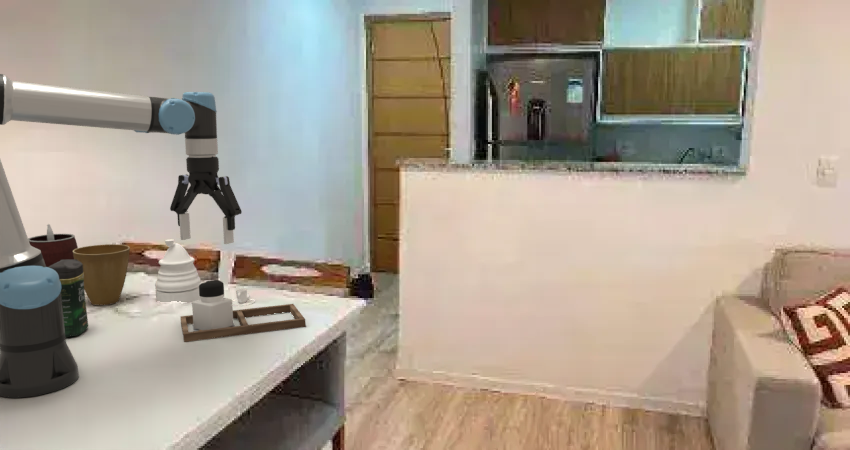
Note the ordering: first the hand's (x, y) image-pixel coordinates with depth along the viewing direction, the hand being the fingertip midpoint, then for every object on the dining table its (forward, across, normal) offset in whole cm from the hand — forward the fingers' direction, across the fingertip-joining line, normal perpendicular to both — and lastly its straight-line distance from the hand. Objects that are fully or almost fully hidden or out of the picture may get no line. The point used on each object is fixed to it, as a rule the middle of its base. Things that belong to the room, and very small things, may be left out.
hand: (206, 241), depth 168 cm
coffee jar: (+23, +31, +16) cm, 42 cm away
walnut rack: (+23, -6, -5) cm, 24 cm away
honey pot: (+23, +28, -19) cm, 41 cm away
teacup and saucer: (+23, +7, -25) cm, 35 cm away
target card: (+23, 0, 0) cm, 23 cm away
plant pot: (+23, +45, -8) cm, 52 cm away
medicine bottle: (+23, 0, 0) cm, 23 cm away
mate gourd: (+23, +70, -11) cm, 75 cm away
